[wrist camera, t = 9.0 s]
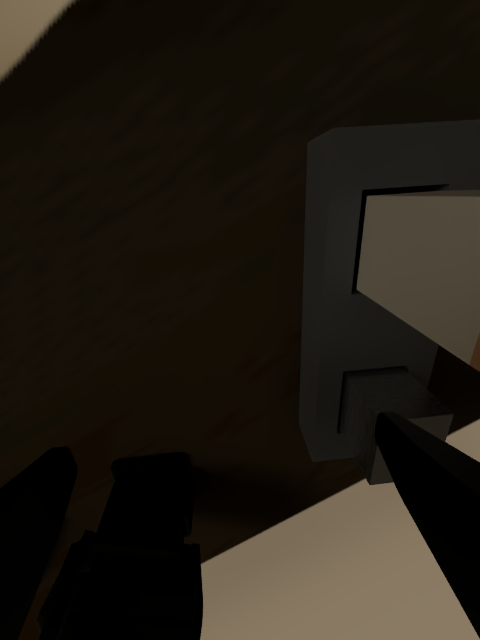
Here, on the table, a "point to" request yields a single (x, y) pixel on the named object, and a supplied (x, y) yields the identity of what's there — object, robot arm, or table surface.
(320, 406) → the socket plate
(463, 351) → the brown rectangular block
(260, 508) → the table surface
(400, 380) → the seated metal plug
